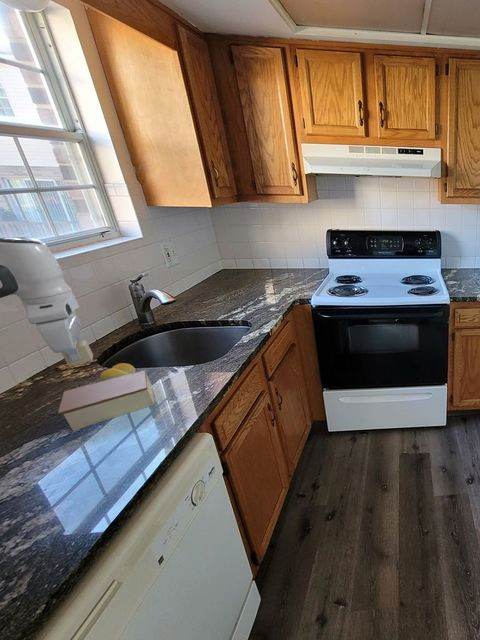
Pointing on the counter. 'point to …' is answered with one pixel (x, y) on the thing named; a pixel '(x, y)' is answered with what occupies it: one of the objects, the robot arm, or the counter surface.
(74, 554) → the counter surface
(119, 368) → the yellow rounded lump
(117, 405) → the case
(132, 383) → the cover
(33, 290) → the robot arm
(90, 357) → the tan block
